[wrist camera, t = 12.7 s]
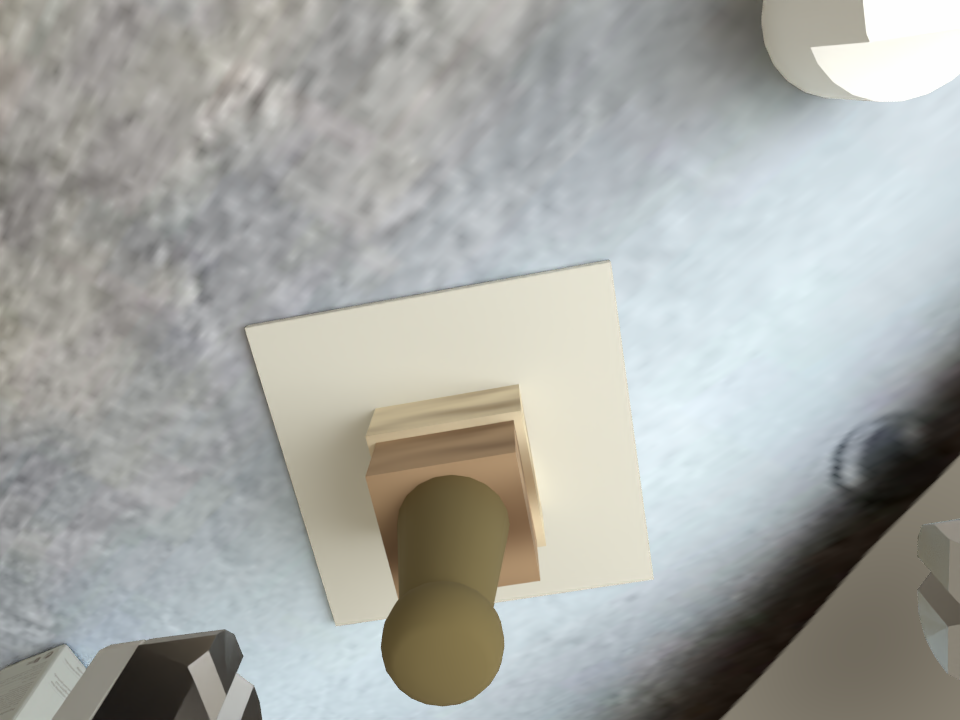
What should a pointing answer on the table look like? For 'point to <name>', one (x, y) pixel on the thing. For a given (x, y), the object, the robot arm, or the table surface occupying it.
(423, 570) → the olive rounded upright piece
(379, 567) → the felt mat
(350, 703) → the table surface
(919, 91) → the cylinder with rectangular tab
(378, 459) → the top block
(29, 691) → the skincare box
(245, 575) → the table surface
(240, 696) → the robot arm
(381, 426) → the bottom block
